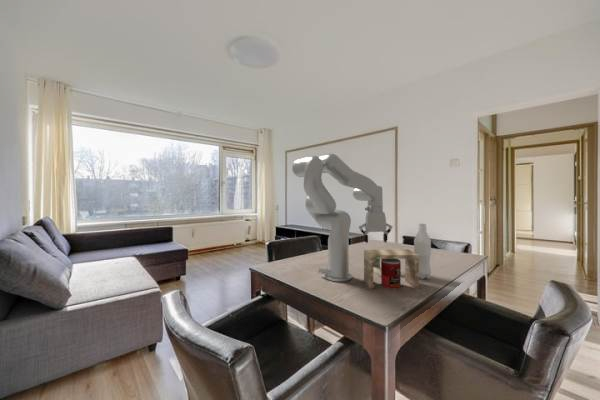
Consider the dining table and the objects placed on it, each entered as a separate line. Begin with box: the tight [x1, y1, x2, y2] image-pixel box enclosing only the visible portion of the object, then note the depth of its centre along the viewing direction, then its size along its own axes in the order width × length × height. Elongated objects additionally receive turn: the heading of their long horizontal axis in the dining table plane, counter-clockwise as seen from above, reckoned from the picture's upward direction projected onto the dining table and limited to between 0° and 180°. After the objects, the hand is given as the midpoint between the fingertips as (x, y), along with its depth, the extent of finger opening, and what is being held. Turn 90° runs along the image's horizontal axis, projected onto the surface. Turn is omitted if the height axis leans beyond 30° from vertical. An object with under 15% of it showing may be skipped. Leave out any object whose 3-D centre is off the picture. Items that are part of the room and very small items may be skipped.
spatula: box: [373, 259, 381, 279], centre depth 121 cm, size 4×20×7 cm, turn 179°
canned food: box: [380, 259, 402, 290], centre depth 105 cm, size 8×8×11 cm
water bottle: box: [413, 223, 432, 280], centre depth 115 cm, size 7×7×25 cm
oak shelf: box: [363, 249, 420, 290], centre depth 106 cm, size 20×10×14 cm, turn 89°
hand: (375, 242), depth 129 cm, fingers open, 9 cm apart
